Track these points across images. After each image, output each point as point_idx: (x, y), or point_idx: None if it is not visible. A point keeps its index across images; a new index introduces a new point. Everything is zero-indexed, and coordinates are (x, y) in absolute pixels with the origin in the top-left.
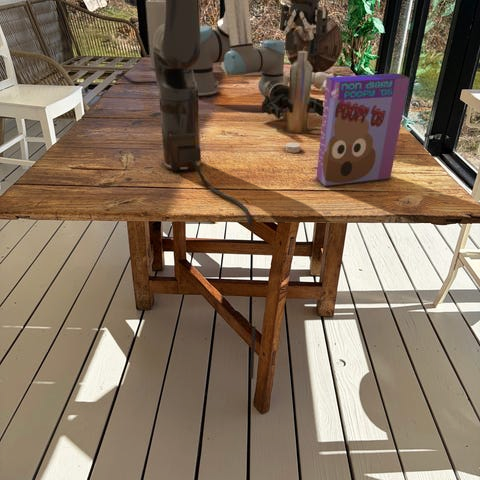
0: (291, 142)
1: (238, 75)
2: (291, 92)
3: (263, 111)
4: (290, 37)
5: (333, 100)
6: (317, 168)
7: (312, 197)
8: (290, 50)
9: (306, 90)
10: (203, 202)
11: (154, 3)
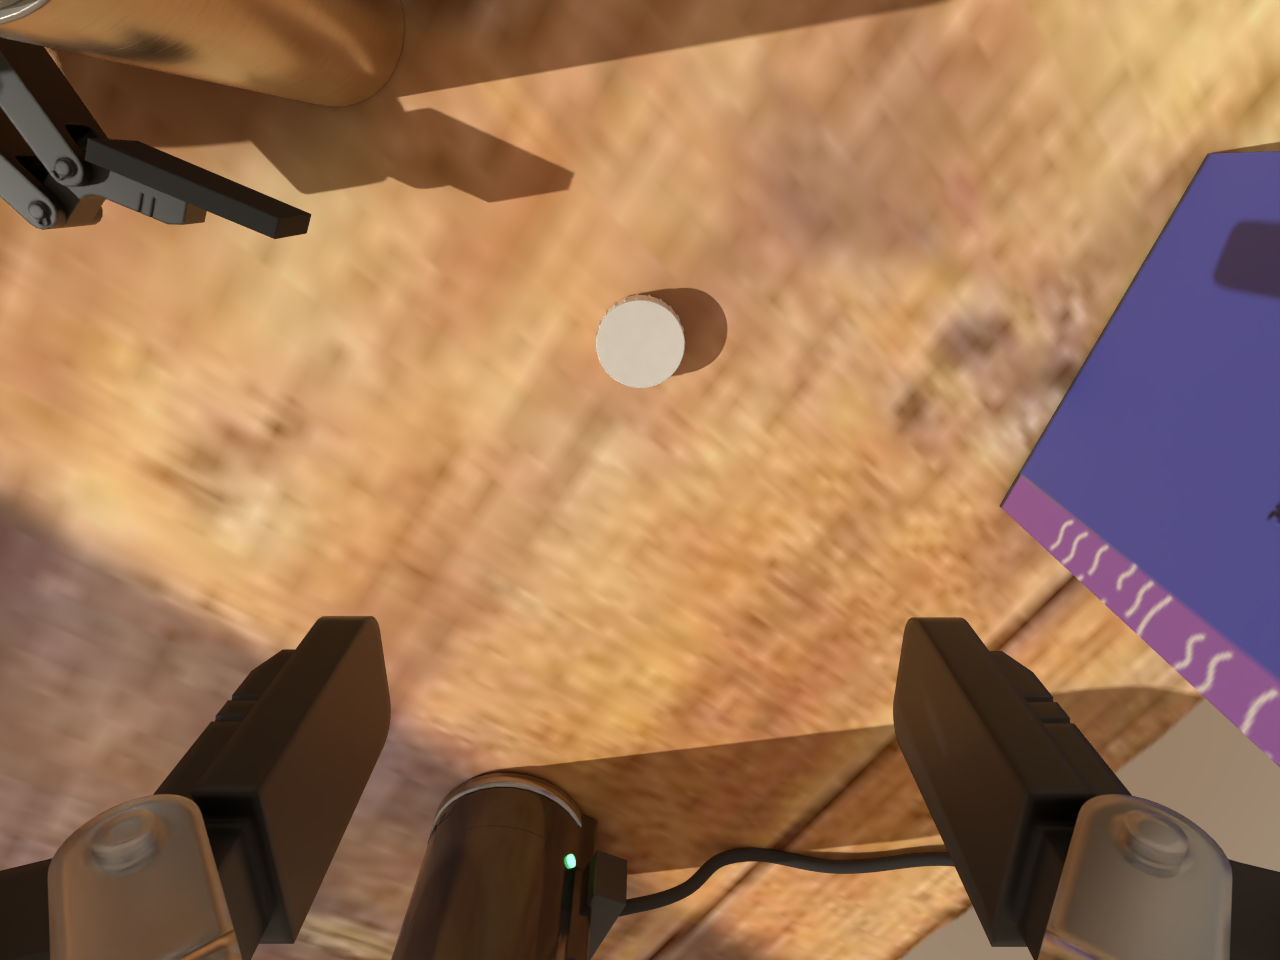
0: (604, 326)
1: None
2: (173, 71)
3: (100, 216)
4: (301, 843)
5: None
6: (1025, 528)
7: (1096, 632)
8: (381, 658)
9: None
10: (842, 909)
11: None
